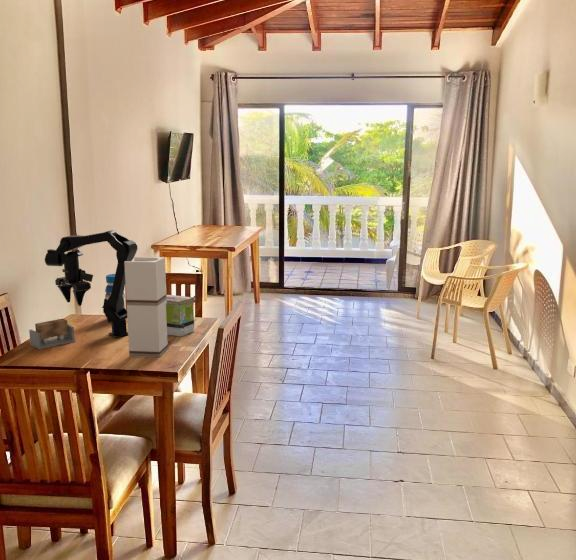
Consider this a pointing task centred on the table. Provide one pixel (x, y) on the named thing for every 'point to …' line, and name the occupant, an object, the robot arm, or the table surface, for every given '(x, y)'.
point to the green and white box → (179, 315)
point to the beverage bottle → (110, 284)
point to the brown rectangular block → (52, 328)
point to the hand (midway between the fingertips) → (74, 303)
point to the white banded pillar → (146, 306)
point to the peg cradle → (51, 339)
